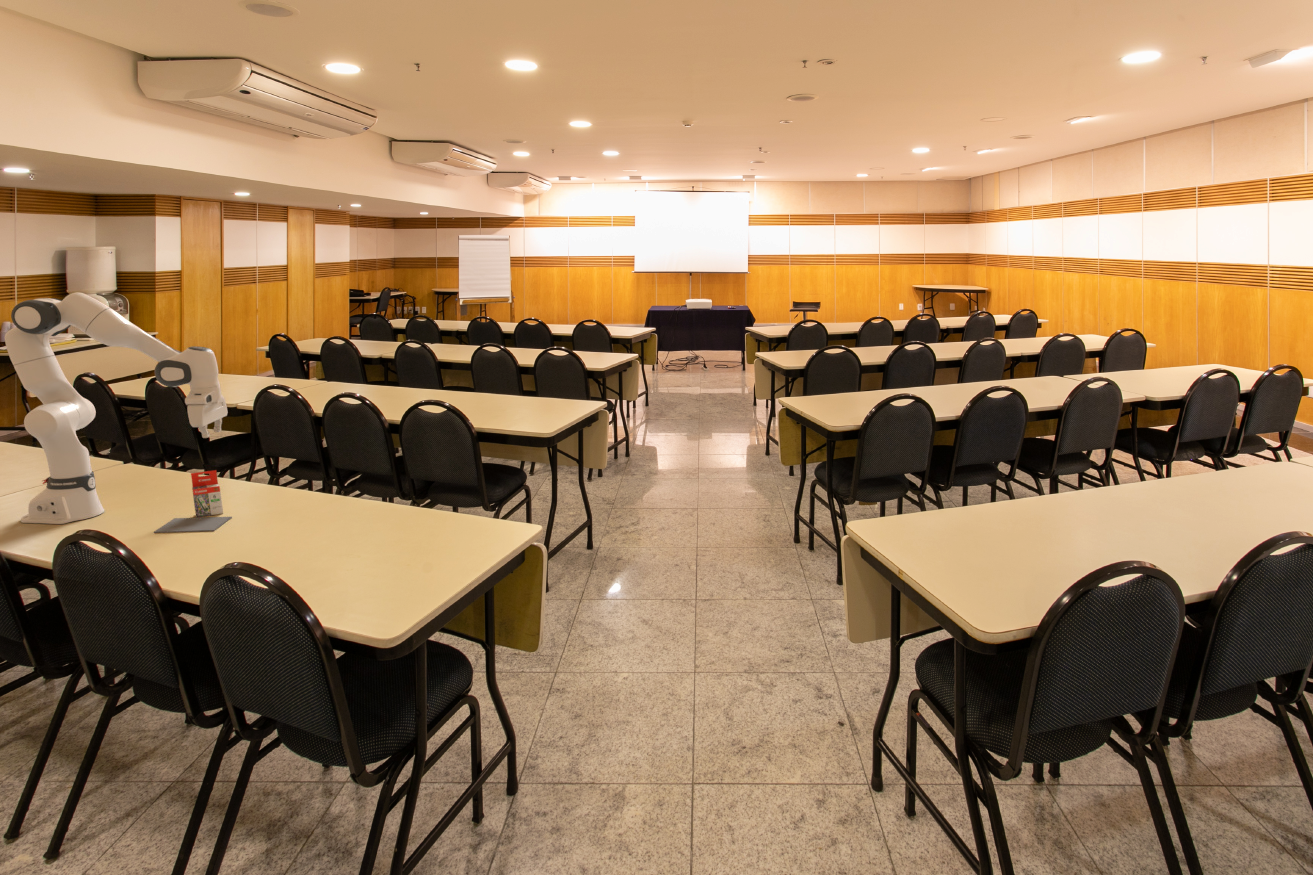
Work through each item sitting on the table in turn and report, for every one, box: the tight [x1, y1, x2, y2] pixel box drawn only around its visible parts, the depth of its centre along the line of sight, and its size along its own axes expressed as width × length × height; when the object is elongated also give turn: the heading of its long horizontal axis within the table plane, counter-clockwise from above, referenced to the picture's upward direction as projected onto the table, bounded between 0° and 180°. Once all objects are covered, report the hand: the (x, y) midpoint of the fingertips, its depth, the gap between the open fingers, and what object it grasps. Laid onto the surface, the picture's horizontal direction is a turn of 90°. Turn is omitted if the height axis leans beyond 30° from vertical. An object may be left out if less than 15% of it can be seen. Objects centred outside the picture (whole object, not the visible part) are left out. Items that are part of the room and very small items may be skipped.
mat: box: [153, 516, 233, 534], centre depth 247 cm, size 18×13×1 cm
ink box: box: [190, 469, 224, 518], centre depth 256 cm, size 4×8×15 cm, turn 124°
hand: (212, 434), depth 261 cm, fingers open, 7 cm apart
